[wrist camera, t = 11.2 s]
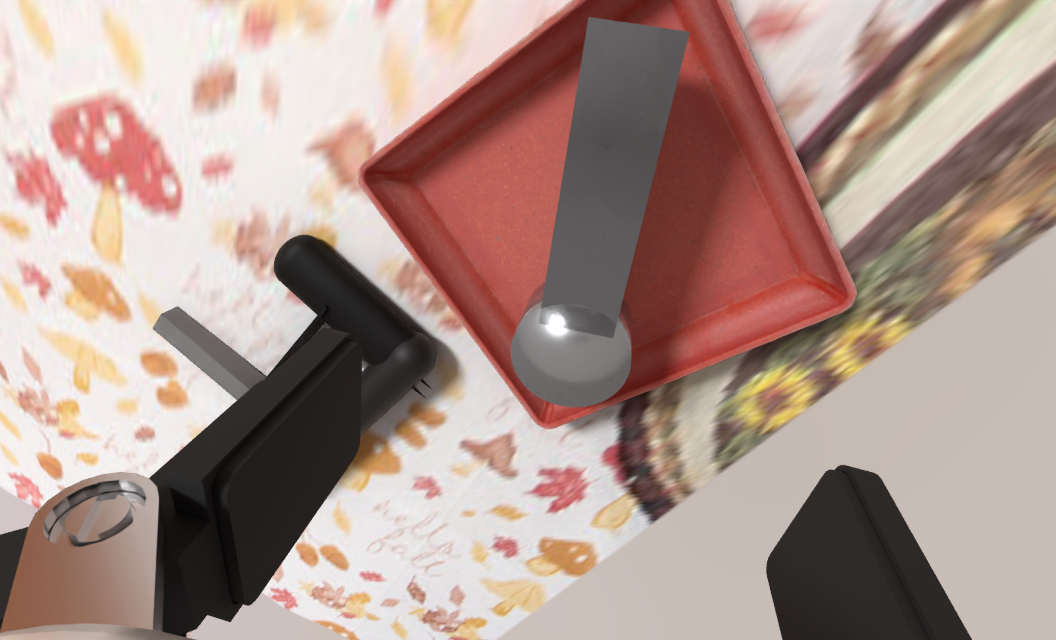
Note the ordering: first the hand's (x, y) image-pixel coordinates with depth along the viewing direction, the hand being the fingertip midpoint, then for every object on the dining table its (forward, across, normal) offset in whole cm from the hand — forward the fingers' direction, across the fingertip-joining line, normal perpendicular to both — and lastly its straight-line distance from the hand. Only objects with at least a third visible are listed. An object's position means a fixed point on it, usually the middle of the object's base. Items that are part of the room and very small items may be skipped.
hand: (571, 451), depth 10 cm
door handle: (+19, +19, +16) cm, 31 cm away
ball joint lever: (+16, 0, 0) cm, 16 cm away
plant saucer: (+19, 0, +1) cm, 19 cm away
